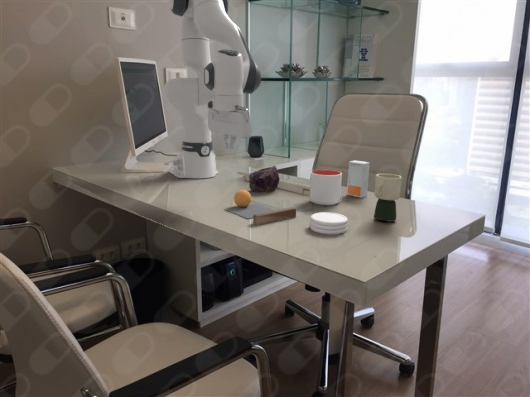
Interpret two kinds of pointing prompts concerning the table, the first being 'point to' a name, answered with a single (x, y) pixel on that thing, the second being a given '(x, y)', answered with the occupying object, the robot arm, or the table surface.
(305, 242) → the table surface
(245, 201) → the ball
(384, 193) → the character mug
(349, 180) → the skincare box
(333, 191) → the cup
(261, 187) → the rock
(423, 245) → the table surface
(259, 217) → the walnut bar
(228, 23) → the robot arm
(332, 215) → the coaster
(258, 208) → the grey mark
